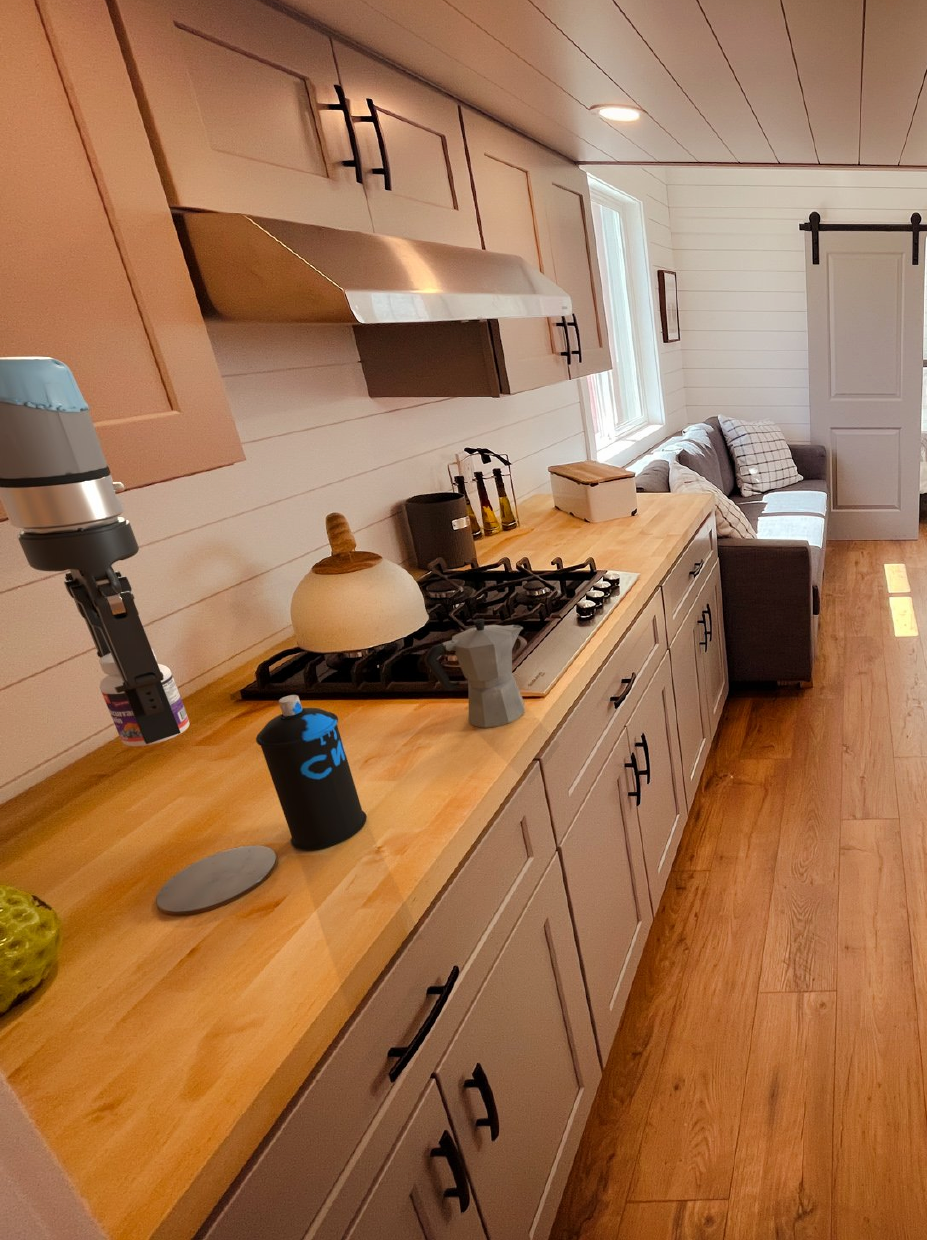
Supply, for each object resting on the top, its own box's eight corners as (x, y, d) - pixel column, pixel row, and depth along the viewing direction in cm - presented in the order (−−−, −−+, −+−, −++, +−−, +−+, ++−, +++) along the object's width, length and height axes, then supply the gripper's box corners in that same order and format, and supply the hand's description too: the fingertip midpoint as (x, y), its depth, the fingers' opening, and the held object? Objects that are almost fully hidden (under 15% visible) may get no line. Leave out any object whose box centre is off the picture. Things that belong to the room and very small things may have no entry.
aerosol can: (275, 852, 90) (226, 716, 83) (320, 810, 98) (279, 682, 91) (340, 851, 91) (298, 715, 84) (380, 809, 98) (344, 682, 91)
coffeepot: (523, 691, 130) (507, 601, 124) (547, 709, 124) (531, 615, 118) (432, 724, 119) (408, 627, 113) (453, 745, 113) (430, 644, 107)
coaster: (134, 924, 79) (132, 920, 79) (192, 857, 89) (190, 853, 89) (250, 904, 82) (248, 900, 82) (294, 842, 92) (292, 838, 92)
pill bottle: (108, 745, 75) (73, 663, 72) (163, 719, 80) (132, 641, 77) (151, 750, 74) (118, 667, 71) (204, 723, 79) (175, 645, 76)
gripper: (151, 529, 67) (227, 740, 75) (104, 502, 76) (175, 690, 85) (33, 548, 61) (129, 774, 69) (-2, 516, 71) (86, 717, 79)
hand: (154, 728), depth 77 cm, fingers closed on pill bottle, 5 cm apart
